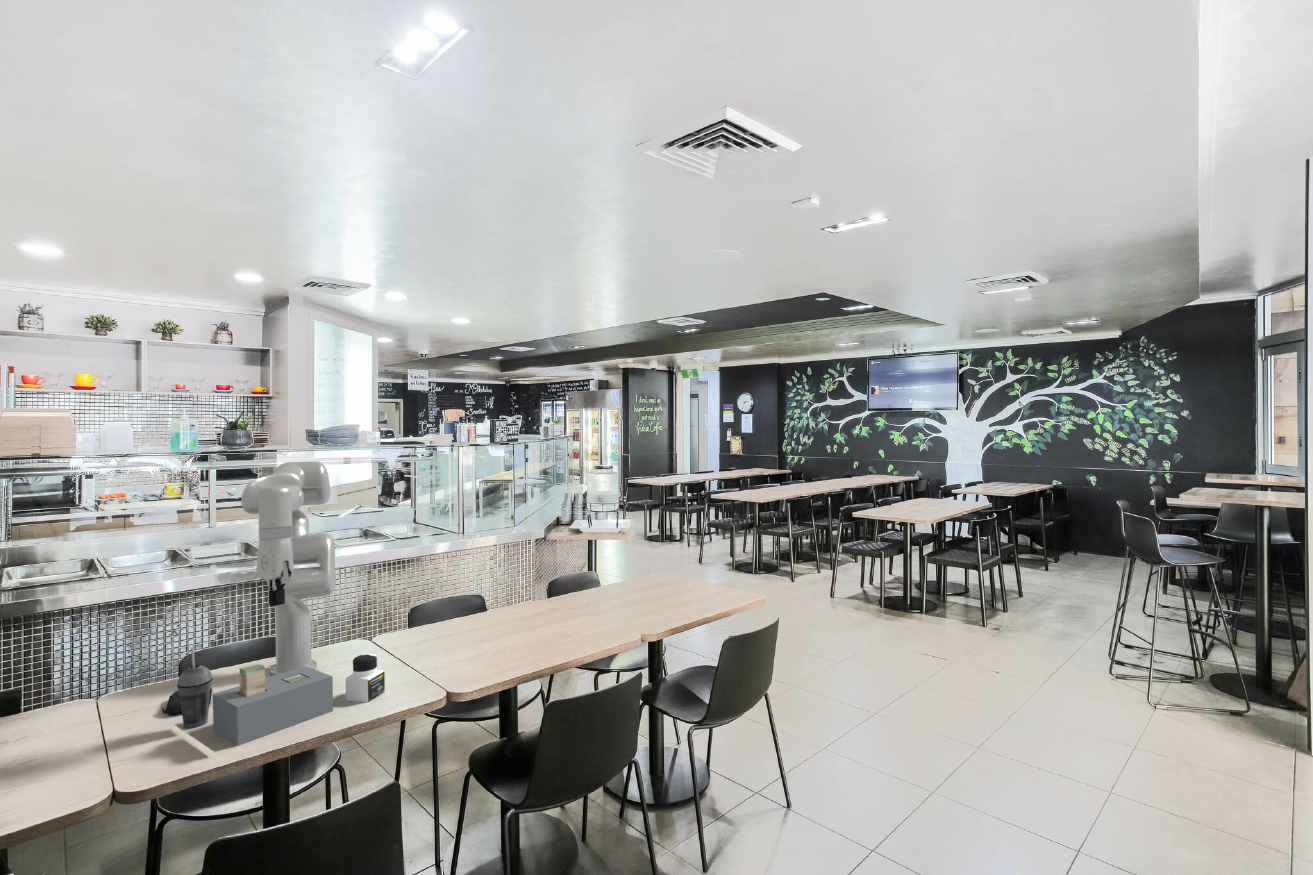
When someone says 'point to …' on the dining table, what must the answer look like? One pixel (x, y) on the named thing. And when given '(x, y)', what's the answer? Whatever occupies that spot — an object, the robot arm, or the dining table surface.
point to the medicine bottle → (365, 679)
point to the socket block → (272, 706)
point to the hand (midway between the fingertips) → (276, 604)
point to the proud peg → (252, 679)
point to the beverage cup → (195, 694)
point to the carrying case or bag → (176, 704)
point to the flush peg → (294, 678)
